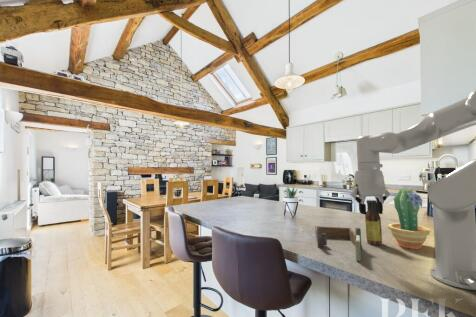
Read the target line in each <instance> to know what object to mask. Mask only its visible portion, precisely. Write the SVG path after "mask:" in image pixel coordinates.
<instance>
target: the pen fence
mask: <svg viewBox="0 0 476 317" xmlns="http://www.w3.org/2000/svg"><path fill="white" fill-rule="evenodd" d="M354 229H355V231H354V230H353V229H352V227H340V226H339V227H338V226H320V225H318V226H317V225H316V226H314V230H315V231H314V232H315V239H316V242H317V248H319V249H323V246H325V247H326V246H327V244H328V242H327V238H333V239H334V238H336V239H349V240H350V242H351V243H352V244H353V245H354V246H355V240H356V235H360V251H362V233H361V227H355V228H354Z"/></svg>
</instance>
